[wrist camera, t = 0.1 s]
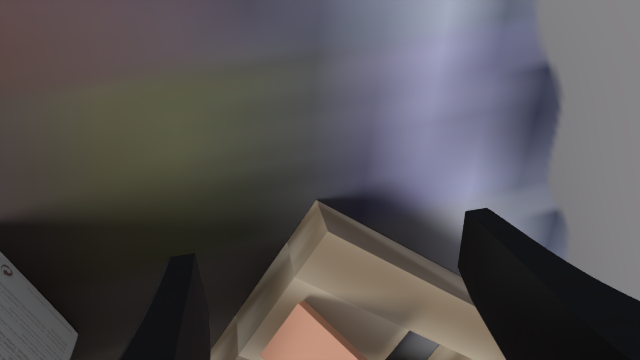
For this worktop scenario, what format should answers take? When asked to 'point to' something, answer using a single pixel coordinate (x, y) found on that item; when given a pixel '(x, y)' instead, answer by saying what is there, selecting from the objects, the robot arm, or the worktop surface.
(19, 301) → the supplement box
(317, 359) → the latch flap
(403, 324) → the hitch block
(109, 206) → the worktop surface
